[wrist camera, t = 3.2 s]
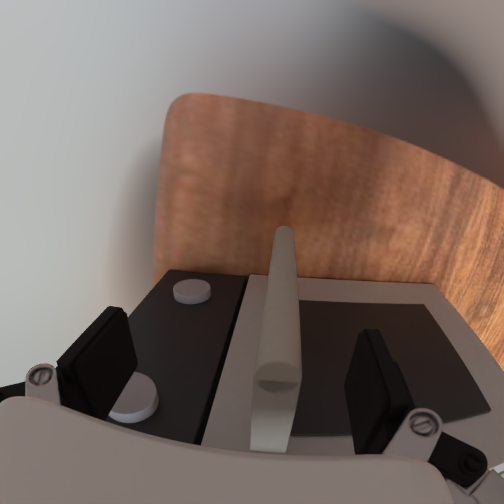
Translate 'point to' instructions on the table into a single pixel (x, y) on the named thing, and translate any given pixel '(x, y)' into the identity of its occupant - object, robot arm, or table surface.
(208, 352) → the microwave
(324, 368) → the microwave door
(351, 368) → the robot arm
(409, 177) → the table surface
